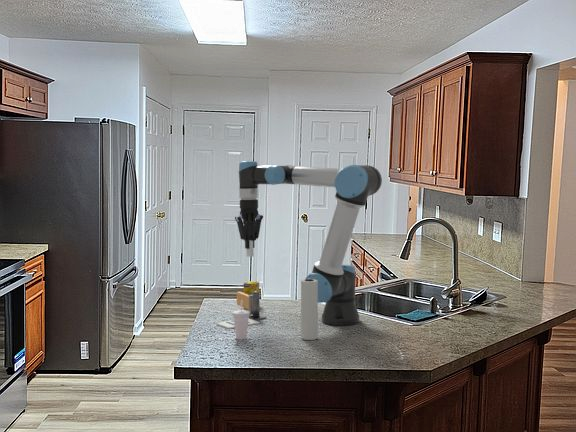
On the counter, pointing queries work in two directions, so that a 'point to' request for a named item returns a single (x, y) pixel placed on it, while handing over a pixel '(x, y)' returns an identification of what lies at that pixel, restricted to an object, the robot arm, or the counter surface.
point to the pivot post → (256, 307)
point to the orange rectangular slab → (245, 301)
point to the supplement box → (250, 287)
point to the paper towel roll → (309, 309)
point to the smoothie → (241, 323)
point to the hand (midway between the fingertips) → (250, 256)
